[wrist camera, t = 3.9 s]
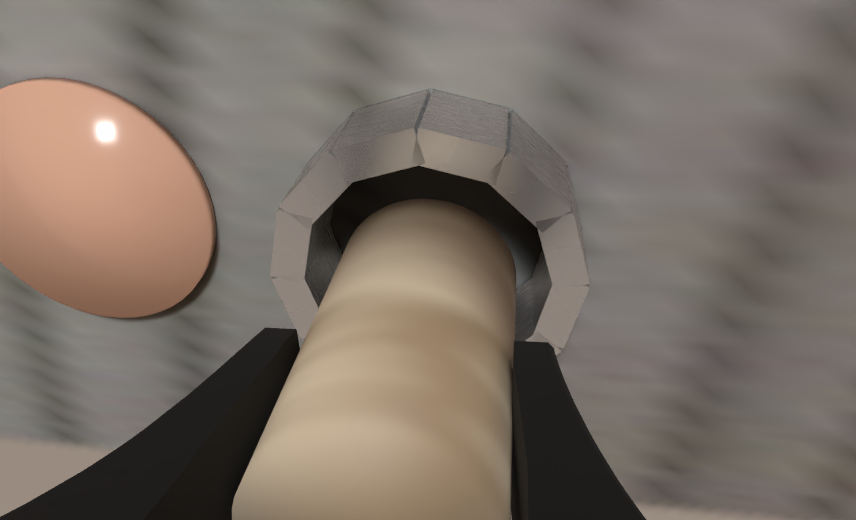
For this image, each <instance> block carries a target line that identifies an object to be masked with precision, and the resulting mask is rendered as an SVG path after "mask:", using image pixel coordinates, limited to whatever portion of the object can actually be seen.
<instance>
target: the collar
mask: <svg viewBox="0 0 856 520" xmlns="http://www.w3.org/2000/svg"><path fill="white" fill-rule="evenodd" d="M415 166H422V167H426V168H430V169H434V170H438V171H442V172H446V173H450V174H454V175H458V176H462V177H466V178H470V179H474V180H478V181H482V182H486V183H488V184H490V185H491V186H492V187H493V188H494V189H495V190H496V191H497V192H498V193H499V194H500V195H502V196H503V197H504V198H505V199H506V200H507V201H508V202H509V203H510V204H511V205H512V206H514V207H515V208H516V209H517V210H518V211H519V212H520V213H521V214H522V215H523V216H525V217H526V218H527V219H528V220H529V221H530V222H531V223H532V224H533V225H534V226H535V227H537V229H538V233H539V236H540V240H541V244H542V251H541V253H540V256H539V259H538V262H537V264H536V267H535V270H534V273H533V276H532V277H531V278H530V279H529V280H528V281H526V282H525V283H524V284H523V285H521V286H520V287H519V288H517V289H516V311H515V341H531V342H548V343H549V344H550V345H551V346H552V347H553V348H554V350H555V355H557V354H558V353H560V352H561V348H564V347H565V345H566V342H567V340H568V338H569V335H570V333H571V331H572V328H573V326H574V323H575V321H576V319H577V316H578V314H579V312H580V309H581V307H582V305H583V302H584V300H585V297H586V295H587V293H588V290H589V288H590V286H589V284H590V280H589V273H588V267H587V260H586V253H585V247H584V240H583V234H582V228H581V223H580V219H579V215H578V210H577V206H576V202H575V197H574V193H573V189H572V184H571V180H570V176H569V171H568V167H567V165H565V161H564V160H563V159H562V158H561V157H560V156H559V155H558V154H557V153H556V152H555V151H554V150H553V149H552V148H550V147H549V146H548V145H547V144H546V143H545V142H544V141H543V140H542V139H541V138H540V137H539V136H538V135H537V134H536V133H535V132H534V131H533V130H532V129H531V128H530V127H529V126H528V125H527V124H526V123H525V122H524V121H523V120H522V119H521V118H520V117H519V116H517V115H516V114H515V113H514V112H513V111H511V112H510V113H509V114H508V108H505V107H501V106H497V105H493V104H489V103H485V102H481V101H477V100H473V99H469V98H466V97H462V96H458V95H454V94H450V93H446V92H442V91H438V90H434V89H433V90H432V93H431V95H430V92H429V89H428V90H424V91H421V92H417V93H414V94H410V95H407V96H403V97H400V98H396V99H392V100H389V101H385V102H382V103H378V104H375V105H371V106H367V107H364V108H360V109H357V110H356V112H353V113H352V114H351V115H350V116H349V117H348V118H347V120H346V121H345V122H344V123H343V124H342V125H341V126H340V127H339V128H338V130H337V131H336V132H335V133H334V134H333V135H332V136H331V137H330V139H329V140H328V141H327V142H326V143H325V144H324V145H323V146H322V147H321V149H320V150H319V151H318V152H317V153H316V154H315V155H314V156H313V158H312V159H311V160H310V161H309V162H308V164H307V165H306V167H305V168H304V170H303V171H302V173H301V174H300V176H299V177H298V179H297V180H296V182H295V183H294V184H293V186H292V187H291V189H290V190H289V192H288V193H287V195H286V196H285V198H284V199H283V201H282V202H281V204H280V205H279V208H278V209H277V217H276V226H275V236H274V245H273V255H272V264H271V274H270V276H273V277H272V278H271V280H272V282H273V284H274V286H275V288H276V290H277V292H278V294H279V296H280V298H281V300H282V302H283V304H284V306H285V308H286V310H287V312H288V314H289V316H290V318H291V320H292V322H293V324H294V326H295V328H296V329H297V332H298V334H299V336H300V338H301V339H302V338H306V335H307V333H308V331H309V329H310V327H311V324H312V322H313V320H314V318H315V315H316V313H317V311H318V309H319V306H320V304H321V302H322V300H323V298H324V295H325V293H326V291H327V289H328V286H329V284H330V282H331V280H332V277H333V275H334V273H335V271H336V269H337V266H338V264H339V262H340V260H341V257H342V253H341V250H340V248H339V246H338V244H337V241H336V239H335V237H334V234H333V232H332V230H331V227H330V225H331V219H332V213H333V206H334V201H335V200H336V199H337V198H338V197H339V196H340V195H341V194H342V193H343V192H344V191H345V190H346V189H347V188H348V187H349V185H350V184H351V183H352V182H355V181H359V180H363V179H367V178H371V177H375V176H379V175H383V174H387V173H391V172H395V171H399V170H403V169H407V168H411V167H415ZM304 340H305V339H304ZM303 342H304V341H303Z"/></svg>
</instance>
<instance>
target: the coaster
mask: <svg viewBox="0 0 856 520" xmlns="http://www.w3.org/2000/svg"><path fill="white" fill-rule="evenodd" d="M215 240H216V221H215V215H214V209H213V205H212V201H211V198H210V195H209V192H208V189H207V187H206V185H205V182H204V180H203V178H202V176H201V174H200V172H199V170H198V169H197V167H196V165H195V164H194V162H193V160H192V159H191V157H190V156H189V155H188V153H187V152H186V151H185V149H184V148H183V147H182V145H181V144H180V143H179V142H178V141H177V140H176V139H175V138H174V137H173V136H172V134H171V133H170V132H169V131H168V130H167V129H166V128H165V127H163V126H162V125H161V124H160V123H159V122H158V121H157V120H156V119H154V118H153V117H152V116H151V115H149V114H148V113H146V112H145V111H144V110H142V109H141V108H139V107H138V106H137V105H135V104H133V103H132V102H130V101H128V100H126V99H125V98H123V97H121V96H119V95H117V94H115V93H113V92H110V91H108V90H106V89H103V88H101V87H98V86H95V85H92V84H89V83H85V82H82V81H76V80H71V79H66V78H49V77H46V78H34V79H28V80H24V81H20V82H16V83H13V84H11V85H9V86H6V87H4V88H2V89H0V261H1V262H2V263H3V265H5V266H6V267H7V268H8V269H9V270H10V271H11V272H12V273H14V274H15V275H16V276H17V277H18V278H20V279H21V280H22V281H24V282H25V283H27V284H28V285H29V286H31V287H32V288H34V289H35V290H37V291H39V292H40V293H42V294H44V295H45V296H47V297H49V298H51V299H53V300H55V301H57V302H59V303H61V304H64V305H66V306H69V307H71V308H74V309H77V310H80V311H83V312H87V313H90V314H95V315H100V316H106V317H117V318H132V317H141V316H148V315H151V314H155V313H158V312H161V311H163V310H166V309H168V308H170V307H172V306H174V305H175V304H177V303H178V302H180V301H181V300H183V299H184V298H185V297H186V296H187V295H188V294H189V293H190V292H191V291H192V290H193V289H194V287H195V286H196V285H197V283H198V282H199V281H200V279H201V278H202V277H203V275H204V274H205V272H206V270H207V268H208V266H209V264H210V262H211V259H212V256H213V252H214V248H215Z"/></svg>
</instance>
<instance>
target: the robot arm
mask: <svg viewBox="0 0 856 520" xmlns="http://www.w3.org/2000/svg"><path fill="white" fill-rule="evenodd" d="M299 351H300V348H299V342H298V335H297V329H280V328H265V329H263V330H262V331H261V332H260V333H259V334H257V335H256V336H255V337H254V338H253V339H252V340H251V341H249V342H248V343H247V344H246V345H245V346H244V347H243V348H242V349H240V350H239V351H238V352H237V353H236V354H235V355H234V356H233V357H231V358H230V359H229V360H228V361H227V362H226V363H225V364H224V365H222V366H221V367H220V368H219V369H218V370H217V371H216V372H214V373H213V374H212V375H211V376H210V377H209V378H207V379H206V380H205V381H204V382H203V383H202V384H200V385H199V386H198V387H197V388H196V389H195V390H193V391H192V392H191V393H190V394H189V395H187V396H186V397H185V398H184V399H182V400H181V401H180V402H179V403H177V404H176V405H175V406H173V407H172V408H171V409H170V410H168V411H167V412H166V413H165V414H163V415H162V416H161V417H159V418H158V419H157V420H156V421H154V422H153V423H152V424H150V425H149V426H148V427H147V428H145V429H144V430H143V431H141V432H140V433H139V434H137V435H136V436H134V437H133V438H132V439H130V440H129V441H127V442H126V443H124V444H123V445H122V446H120V447H119V448H117V449H116V450H114V451H113V452H111V453H110V454H108V455H107V456H105V457H104V458H102V459H101V460H99V461H98V462H96V463H94V464H93V465H91V466H90V467H88V468H87V469H85V470H84V471H82V472H80V473H78V474H77V475H75V476H73V477H71V478H70V479H68V480H66V481H65V482H63V483H61V484H59V485H58V486H56V487H54V488H52V489H51V490H49V491H48V492H45V493H44V494H42V495H40V496H38V497H37V498H35V499H33V500H32V501H30V502H28V503H26V504H24V505H22V506H21V507H19V508H17V509H15V510H13V511H11V512H9V513H7V514H5V515H3V516H1V517H0V520H232V505H233V500H234V496H235V494H236V492H237V489H238V487H239V485H240V483H241V480H242V478H243V476H244V474H245V471H246V469H247V467H248V465H249V463H250V460H251V458H252V456H253V454H254V451H255V449H256V447H257V445H258V443H259V440H260V438H261V436H262V434H263V431H264V429H265V427H266V425H267V422H268V420H269V418H270V416H271V414H272V411H273V409H274V407H275V405H276V402H277V400H278V398H279V396H280V393H281V391H282V389H283V387H284V385H285V382H286V380H287V378H288V376H289V373H290V371H291V369H292V367H293V364H294V362H295V360H296V358H297V356H298V353H299ZM512 435H513V439H512V482H511V515H512V520H646V519H645V517H644V516H643V515H642V513H641V512H640V511H639V509H638V508H637V507H636V505H635V504H634V502H633V501H632V500H631V498H630V497H629V495H628V494H627V493H626V491H625V490H624V488H623V487H622V485H621V484H620V482H619V481H618V479H617V478H616V476H615V474H614V473H613V471H612V470H611V468H610V466H609V465H608V463H607V462H606V460H605V458H604V457H603V455H602V453H601V452H600V450H599V448H598V447H597V445H596V443H595V441H594V439H593V438H592V436H591V434H590V432H589V430H588V428H587V427H586V425H585V423H584V421H583V419H582V417H581V415H580V413H579V411H578V409H577V407H576V405H575V403H574V401H573V399H572V397H571V394H570V392H569V390H568V387H567V385H566V383H565V380H564V378H563V375H562V373H561V370H560V367H559V364H558V361H557V358H556V355H555V350H554V348H553V347H552V346H551V345H550V344H549V343H548V342H531V341H514V351H513V377H512Z"/></svg>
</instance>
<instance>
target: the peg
mask: <svg viewBox="0 0 856 520" xmlns="http://www.w3.org/2000/svg"><path fill="white" fill-rule="evenodd" d="M515 311H516V269H515V264H514V259H513V257H512V254H511V251H510V249H509V247H508V246H507V244H506V242H505V240H504V239H503V238H502V236H501V235H500V234H499V232H498V231H497V230H496V229H495V228H494V227H493V226H492V225H491V224H490V223H489V222H487V221H486V220H485V219H484V218H482V217H481V216H479V215H478V214H476V213H474V212H473V211H471V210H469V209H467V208H464V207H462V206H460V205H457V204H454V203H451V202H447V201H442V200H436V199H410V200H404V201H399V202H396V203H393V204H390V205H387V206H385V207H383V208H381V209H379V210H377V211H376V212H374V213H373V214H371V215H370V216H368V217H367V218H366V219H365V220H364V221H363V222H362V223H361V224H360V225H359V226H358V227H357V228H356V230H355V231H354V233H353V234H352V236H351V237H350V240H349V242H348V244H347V246H346V248H345V251H344V253H343V255H342V257H341V260H340V262H339V264H338V266H337V269H336V271H335V273H334V275H333V277H332V280H331V282H330V284H329V286H328V289H327V291H326V293H325V295H324V298H323V300H322V302H321V304H320V306H319V309H318V311H317V313H316V315H315V318H314V320H313V322H312V324H311V327H310V329H309V331H308V333H307V335H306V338H305V340H304V342H303V344H302V347H301V349H300V351H299V353H298V356H297V358H296V360H295V362H294V364H293V367H292V369H291V371H290V373H289V376H288V378H287V380H286V382H285V385H284V387H283V389H282V391H281V393H280V396H279V398H278V400H277V402H276V405H275V407H274V409H273V411H272V414H271V416H270V418H269V420H268V422H267V425H266V427H265V429H264V431H263V434H262V436H261V438H260V440H259V443H258V445H257V447H256V449H255V451H254V454H253V456H252V458H251V460H250V463H249V465H248V467H247V469H246V471H245V474H244V476H243V478H242V480H241V483H240V485H239V487H238V489H237V492H236V494H235V496H234V500H233V505H232V520H511V482H512V439H513V435H512V377H513V351H514V341H515Z"/></svg>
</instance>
